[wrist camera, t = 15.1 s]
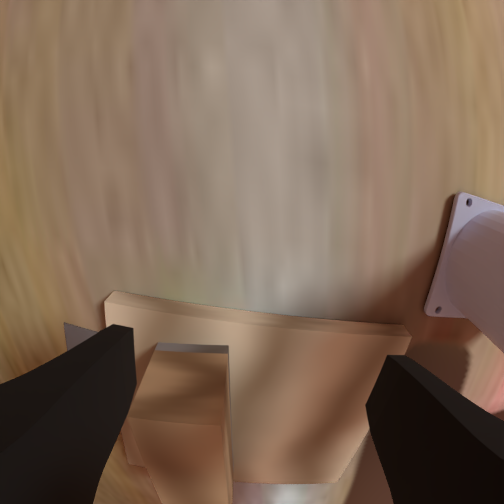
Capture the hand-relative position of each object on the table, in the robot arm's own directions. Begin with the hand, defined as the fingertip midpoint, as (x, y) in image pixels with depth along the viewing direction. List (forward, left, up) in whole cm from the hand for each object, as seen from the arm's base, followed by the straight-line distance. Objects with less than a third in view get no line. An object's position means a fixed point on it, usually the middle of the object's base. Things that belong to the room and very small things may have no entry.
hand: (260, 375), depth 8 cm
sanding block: (+2, +11, -8) cm, 13 cm away
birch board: (-1, +11, -9) cm, 15 cm away
